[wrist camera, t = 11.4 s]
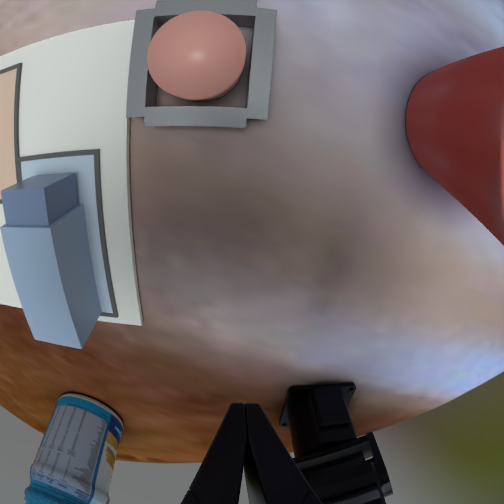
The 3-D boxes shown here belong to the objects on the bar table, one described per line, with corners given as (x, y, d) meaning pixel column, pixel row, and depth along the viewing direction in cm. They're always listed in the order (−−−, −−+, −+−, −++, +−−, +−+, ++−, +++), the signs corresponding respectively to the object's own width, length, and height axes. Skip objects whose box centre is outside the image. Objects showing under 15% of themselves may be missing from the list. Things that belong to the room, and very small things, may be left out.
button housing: (262, 128, 15) (266, 129, 14) (137, 125, 15) (125, 127, 13) (273, 14, 12) (277, 2, 11) (147, 13, 12) (137, 2, 10)
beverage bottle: (88, 384, 24) (37, 562, 6) (140, 429, 27) (118, 585, 9) (46, 394, 25) (-3, 534, 7) (93, 434, 29) (65, 564, 11)
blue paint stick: (101, 311, 19) (82, 349, 16) (58, 306, 19) (34, 339, 15) (81, 171, 15) (45, 189, 11) (32, 175, 15) (-6, 192, 11)
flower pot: (508, 155, 16) (598, 192, 7) (424, 230, 19) (514, 307, 10) (457, 32, 12) (561, 21, 3) (351, 95, 15) (465, 89, 6)
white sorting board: (143, 321, 20) (140, 327, 20) (-7, 298, 19) (-11, 302, 19) (138, 21, 12) (134, 18, 11) (-35, 75, 11) (-41, 75, 10)
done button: (240, 103, 14) (242, 100, 12) (159, 102, 14) (143, 99, 11) (247, 29, 13) (250, 12, 10) (166, 29, 12) (152, 13, 9)
